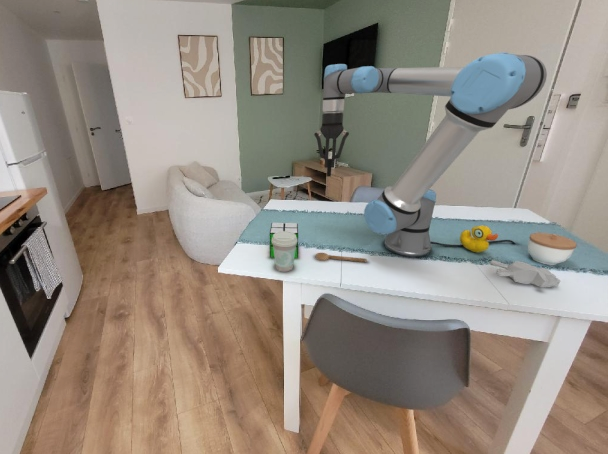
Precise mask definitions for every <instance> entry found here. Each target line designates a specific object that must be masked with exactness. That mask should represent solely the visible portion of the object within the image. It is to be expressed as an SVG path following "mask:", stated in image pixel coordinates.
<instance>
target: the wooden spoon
mask: <svg viewBox="0 0 608 454" xmlns="http://www.w3.org/2000/svg"><path fill="white" fill-rule="evenodd" d="M315 259H316V260H317V261H323V262H324V261H328V260H330V259H331V260H339V261H350V262H359V263H360V262H361V263H366V262H368V259H367V258H364V257H352V256H341V255H331V254H327V253H325V252H317V253H316V254H315Z"/></svg>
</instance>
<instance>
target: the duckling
mask: <svg viewBox="0 0 608 454" xmlns="http://www.w3.org/2000/svg"><path fill="white" fill-rule="evenodd" d="M492 233H493V232H492V230H491V228H490V227H489V226H486V225H478V226H473V227H471V230H469V229H465V230H463V231H461V233H460V237H459V242H460V245H463V246H464V247H463V248H465V249H467V250H469V251H470V252H472V253H482V252H485V251H487V250H488V249H489V247H490V243H488V242H489V241H496V240H497V239H498V237H499V234H498V233H495V234H492Z"/></svg>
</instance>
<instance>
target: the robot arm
mask: <svg viewBox="0 0 608 454" xmlns="http://www.w3.org/2000/svg"><path fill="white" fill-rule="evenodd" d="M547 76H548V73H547V68H546V66H545V64H544V62H543V61H542V60H541V59H539V58H537V57H536V56H532V55H527V54H514V53H510V52H496V53H490V54H486V55H483V56H480V57H478V58H475V59H473V60H472V61H471V62H469V63H468V64H466V65H465V66H439V67H438V66H435V67H431V66H430V67H386V68H385V67H375V66H372V65H370V66H369V65H367V66H360V67H355V68H349V69H348V65H347V64H345V63H337V64H336V63H335V64H329V65H327V66H326V67H325V69H324V74H323V94H322V112H323V113H322V114H321V115H322V116H321V126H320V128H319V130H318V131H316V132H314V137H315V139H316V143H317V147H318V153H319V157H320V158H321V159H323V160H324V168H326V177H332V169H334V168H335V164H336V160H337V159H339V158H340V157H341V155H342V151H343V148H344V145H345V142H346V139H347V138H348V137H349V135H350V132H349V131H346V130H345V128H344V124H343V123H344V113H343V112H344V110H345V97H346V95H349V94H350V95H352V94H372V93H373V94H374V93H379V94H380V93H385V94H401V95H419V96H434V97H435V96H436V97H450V98H449V100H448V101H447V102H446V103H445V105H444V110H445V116H444V117H443V118H442V120H441V121H440V123H439V124H438V126H437V127H436V128H435V129H434V131H433V132H432V133H431V135H430V136H429V137H428V139H427V140H426V141H425V142H424V144H423V146H422V147H421V148H420V149H419V151H418V152H417V154H416V155H415V156H414V158H413V159H412V160H411V162H409V164H408V165H407V167H406V168H405V170H404V171H403V172H402V174H401V175H400V176H399V177H398V179H397V180H396V182H395V183H394V184H392V185H388V186H386V187H385V188H384V190H383V191H382V192H381V194H380V195H379V196H378V198H377V199H373V200H372V201H371V200H370V202H368V203H367V204H366V205H365V207H364V211H363V216H364V219H365V223H366V225H367V227H368V228H369V229H370V230H371V231H372V232H373V233H375V234H378V235H382V236H384V235H385V236H386V237H385V239H384V245H383V246H384V247H385V249H386V250H388V251H389V252H391V253H392V254H395V255H397V256H403V257H408V258H423V257H427V256H428V255H430V254H431V252H432V245H437V246H440V247H441V246H443V247H452V248H454V247H455V248H458V247H459V248H465V247H464V246H463V245H462V244H447V243H440V242H438V241H437V242H436V241H431V237H430V227H431V224H432V218H433V214H434V210H435V205H436V202H437V200H436V199H437V193H436V191H435V190H433V189H432V187H433V186H434V185H435V184H436V183H437V181H438V180H440V178H441V177H442V176H443V175H444V173H445V172H446V171H447V170H448V169H449V167H450V166H451V165H452V164H453V163H454V162H455V161H456V159H457V158H458V157H459V156H460V155H461V154H462V153H463V151H464V150H465V149H466V148H467V147H468V146H469V144H471V142H472V141H473V140H474V139H475V137H476V136H477V135H478V134H479V133H480V132H481V131H486V130H490V129H492V128H493V127H494V126H495V125H496V124H497V123H498V122H499V121H500V120H501V119H502V117H503V116H504V115H505V114H506V113H507V112H508V110H513V109H518V108H519V107H522V106H525V105H526V104H528V103H530V102H531V101H532V100H534V99H535V98H536V97H537V96H538V95H539V93H540V92H541V91H542V90H543V88H544V86H545V84H546V82H547ZM341 134H342V135H341ZM340 135H341V136H342V138H341V141H340V144H339V147H338V150H337V149H336V148H337V139H338V138H339V137H340ZM321 136H323V137H324V138H325V147H324V148H323V142H322V139H321ZM330 139H332V149H331V158H329V153H330ZM324 149H325V150H324ZM336 150H337V153H336ZM488 243H489V244H494V243H496V244H497V243H511V244H512V245H516V241H513V240H511V239H499V240H492V241H489V240H488Z"/></svg>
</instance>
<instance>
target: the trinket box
mask: <svg viewBox="0 0 608 454" xmlns="http://www.w3.org/2000/svg"><path fill="white" fill-rule="evenodd" d="M577 246H578V244H577V242H576V241H575V240H574V239H571V238H569V237H565V236H564V235H559V234H555V233H548V232H533V233H531V234H530V235H529V237H528V242H527V252H528V255H529V256H530V257H531V259H532V260H533V261H535V262H537V263H539V264H542V265H543V264H544V265H548V266H556V265H558V264H561V263H564V262H565V261H567V260H568V259H570V257H571V256H572V255H573V253H574V252H575V249H576V248H577Z"/></svg>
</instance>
